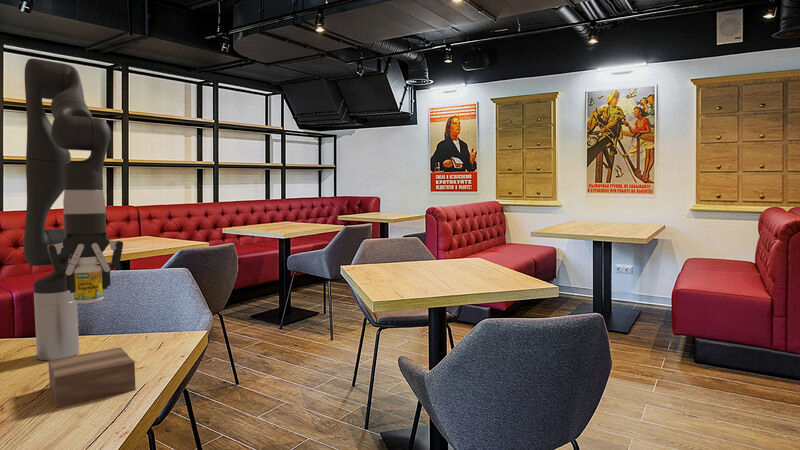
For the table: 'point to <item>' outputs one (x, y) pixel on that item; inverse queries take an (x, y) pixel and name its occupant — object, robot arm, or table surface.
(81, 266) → the supplement bottle
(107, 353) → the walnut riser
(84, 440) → the table surface
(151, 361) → the table surface
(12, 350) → the table surface
